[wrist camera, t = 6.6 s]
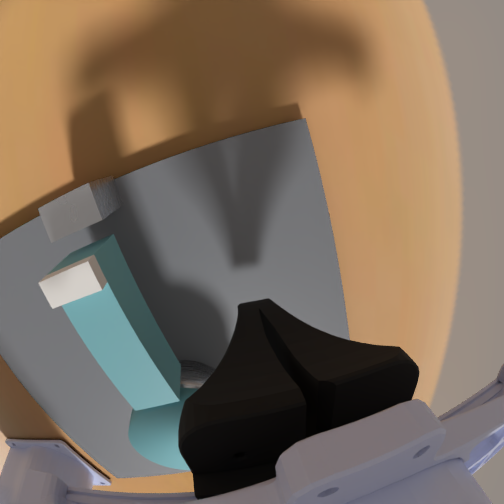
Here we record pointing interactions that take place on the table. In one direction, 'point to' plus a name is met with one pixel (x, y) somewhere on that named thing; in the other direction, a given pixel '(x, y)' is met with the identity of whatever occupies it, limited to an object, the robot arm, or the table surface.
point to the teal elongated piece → (123, 343)
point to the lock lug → (80, 208)
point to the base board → (177, 274)
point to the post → (194, 373)
